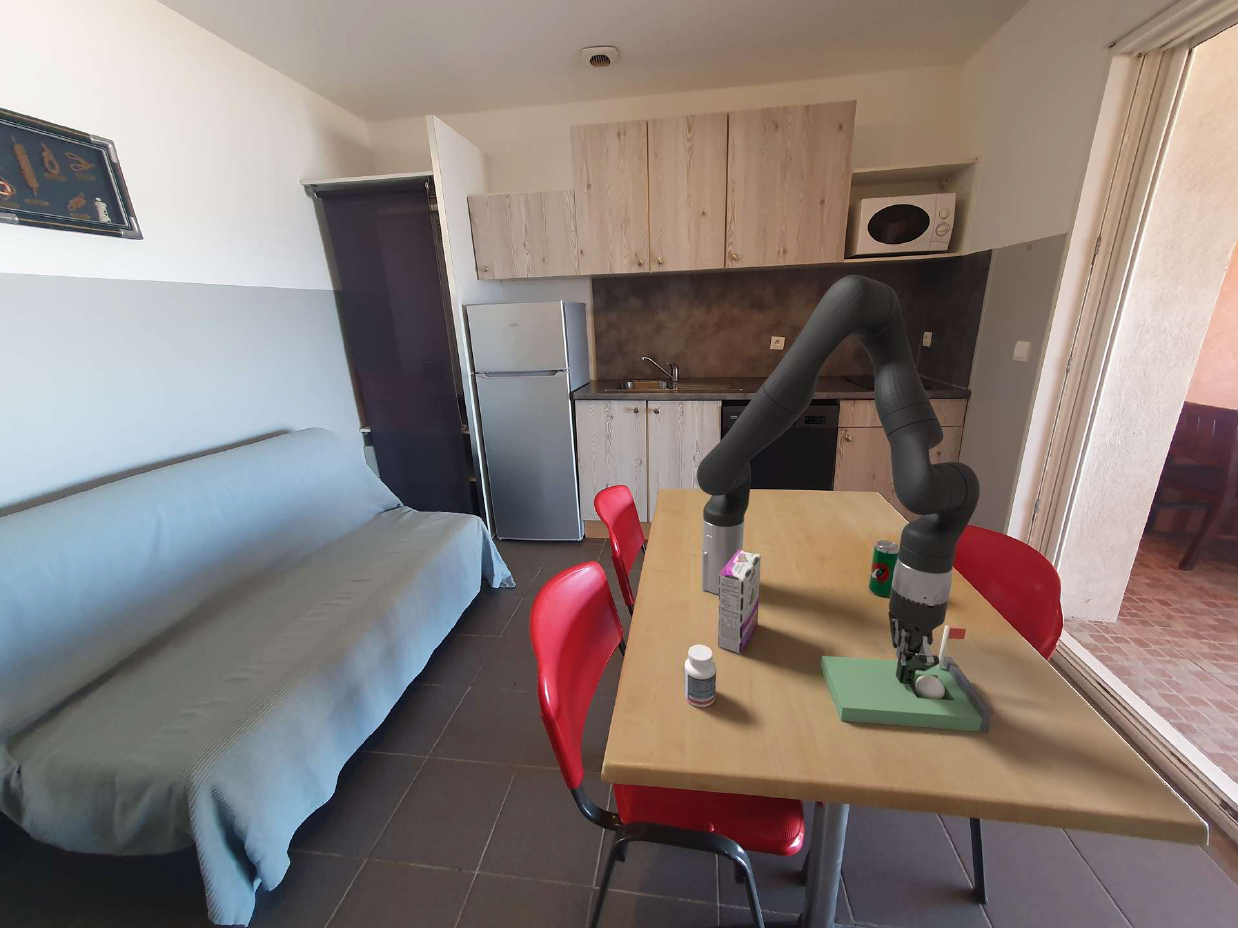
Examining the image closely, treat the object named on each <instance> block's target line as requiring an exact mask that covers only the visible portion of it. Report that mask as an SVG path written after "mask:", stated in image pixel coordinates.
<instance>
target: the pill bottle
mask: <svg viewBox="0 0 1238 928" xmlns="http://www.w3.org/2000/svg"><path fill="white" fill-rule="evenodd" d="M687 653H688V655H687V659H686V660H685V662H684V668H683V669H684V675H683V676H684V678H683V679H684V683H683V684H684V686H683V687H684V689H683V690H684V691H683V692H684V698H685V699H686V701H687V702H688V703H689V704H690V705H693V706H694V707H697V708H698V707H699V708H705V707H709V706H710V705H712V704H713V703H715V700H716V696H717V695H716V694H717V693H716V692H717V691H716V689H717V666H716V662H715V661H714V658H713V651H712V649H711V648H710V647H708V646H707V645H705V644H695V645H693V646H690V647H689V649H688V652H687Z"/></svg>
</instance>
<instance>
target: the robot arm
mask: <svg viewBox="0 0 1238 928" xmlns="http://www.w3.org/2000/svg"><path fill="white" fill-rule="evenodd" d="M902 311H903V310H902V307H901V303H900V301H899V297H898V295H897V293H896V291H895V290H894V289H893V288H892V287H891V286H889V285H888V284H886V283H884V282H881V281H878V280H875V279H873V278H871V277H867V276H864V275H859V274H848V275H845V276H844V277H841V278H840V279H838V280H837V281H836V282H835V283H833V284H832V285H831V287H830V288H828V290H827V291H826V292H825V294H824V295H823V296H822V298H821V299H820V301H819V303H818V304H817V305H816V307H815V308H814V310H813V312H812V314H811V315H810V317H809V319H808V320H807V322H806V323H805V325H804V326H803V328H802V330H801V332H800V333H799V335H798V336H797V338H796V339H795V341H794V342H793V344H792V345H791V346H790V348H789V349H788V350H787V352H786V354H785V355H784V356H783V357H782V359H781V360H780V362H779V363H778V364H777V366H776V367H775V369H774V370H773V371H772V372H771V374H769V376H768V377H767V379H766V380H764V382H763V383H762V385H761V386H760V387H759V389H758V390H757V392H756V393H755V394H754V395H753V397H752V398H751V400H750V401H749V403H748V404H747V405H746V407H745V408H744V410H743V411H742V412H741V413H740V415H739V416H738V417H737V419H736V420H735V422H734V423H733V425H732V426H731V427H730V429H729V430H728V431H727V433H726V434H725V435H724V437H723V438H722V439H721V440H720V441H719V442H718V443H717V444H716V445H715V446H714V447H713V448H712V449H711V450H710V451H708V453H707V455H705V456H704V458H703V459H701V461H700V463H699V465H698V467H697V471H696V480H697V484H698V486H699V488H700V489H701V491H703V493H705V494H707V495H710V498H709V499H708V500H707V503H705V505H704V506H703V511H702V512H703V516H702V517H703V519H702V543H701V544H702V545H701V590H702V591H708V592H710V593H713V594H716V595H719V574H720V573H721V571H722V570H723V569H724V568H725V566H726V565H727V564H728V562H729V561H730V560H731V559H732V557H733V556H734V555H735V553H736V552H737V551H738V550H744V533H745V529H744V528H745V515H746V512H747V510H748V508H749V503H750V496H751V493H750V491H751V483H752V468H751V464H750V461H751V460H752V459H753V458H754V457H755V456H756V455H757V454H758V453H760V452H761V451H763V450H764V449H765V448H767V447H768V446H769V445H770V444H772V443H773V442H774V441H776V440H777V439H778V438H780V437H781V436H782V435H783V434H784V433H786V431H788V429H790V428H791V427H792V425H794V423H795V422H796V421H797V420H798V419H799V417H800V416H801V415H802V414H803V413H804V412H805V411H806V410H807V409H808V407H809V405H810V404H811V402H812V400H813V398H814V395H815V392H816V388H817V384H818V380H819V375H820V372H821V371H822V368H823V366H824V364H825V363H826V361H827V360H828V358H829V357H830V356H831V355H832V354H833V352H834V351H835V350H836V349H837V347H838V346H840V344H841V343H842V342H843V341H844V340H845V339H846V338H848V337H850V338H855V339H858V340H859V342H860V343H861V345H862V347H863V348H864V349H865V351H866V353H867V354H868V356H869V359H870V361H871V365H872V369H873V375H874V377H873V379H874V383H873V385H874V387H873V388H874V389H873V391H874V393H873V395H874V405H875V409H876V413H877V416H878V418H879V421H880V424H881V426H882V430H883V431H884V434H885V436H886V439H887V442H888V443H889V446H890V447H889V449H890V458H891V459H890V460H891V461H890V462H891V471H892V482H893V489H894V493H895V495H896V498H897V499H898V500H899V502H900V504H901V505H902V506H903V507H904V508H905V509H906V510H908V511H909V512H910V513H912V514H915V515H918V516H919V517H917V519H915V520H912V521H911V522H908V523H907V524H906V525H905V526H904V527H903V529H902V532H901V535H900V542H899V553H898V559H897V562H896V565H895V568H894V574H893V581H892V587H891V594H890V596H889V602H888V609H889V610H888V615H887V616H888V621H889V628H890V633H891V635H890V636H891V642H892V643H891V645H892V647H893V648H894V649H896V652H895V653H896V658H897V660H898V664H897V670H896V677H897V679H898V680H899V682H900V683H901V684H913V683H914V678H915V672H916V670H917V671H927V670H929V669H930V668H932V667H934V666H936V665H938V664H939V655H934V654H933V653H932V649H931V647H930V646H931V645H933V641H934V638H933V632H934V630H935V629H936V628H938V627H940V626H941V625H943V624H944V622H945V621H946V615H947V609H948V605H949V600H950V599H949V598H950V596H951V595H950V594H951V589H952V581H953V568H954V561H955V556H956V550H957V546H958V545H957V544H958V542H959V540H960V538H961V536H962V535H963V533H964V532H965V530H966V528H967V527H968V524H969V522H970V520H971V518H972V516H973V514H974V512H975V510H976V508H977V506H978V503H979V498H980V492H981V491H980V489H981V487H980V481H979V478H978V476H977V474H976V473H975V471H974V470H973V469H972V468H971V467H970V466H969V465H967V464H965V463H963V462H959V461H958V462H957V461H947V462H939V463H932V462H931V458H930V450H931V449H933V448H935V447H938V446H939V445H940V444H941V443H942V441H943V440H944V431H943V428H942V426H941V425H942V424H941V423H940V421H939V419H938V416H937V414H936V412H935V410H934V407H933V405H932V403H931V401H930V398H929V396H928V394H927V392H926V389H925V387H924V385H923V382H922V380H921V377H920V375H919V371H918V369H917V367H916V366H917V365H916V363H915V360H914V356H913V353H912V349H911V346H910V342H909V339H908V338H909V337H908V335H907V330H906V325H905V320H904V315H903V312H902Z"/></svg>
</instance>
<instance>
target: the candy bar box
mask: <svg viewBox="0 0 1238 928" xmlns="http://www.w3.org/2000/svg"><path fill="white" fill-rule="evenodd" d="M761 556H762V555H761V554H760V553H755V552H751V551H746V550H744V549H743V550H738V551H737V552H736V553H735V555H734V556H733V557H732V559H731V560H730V561H729V562H728V564H727V565H726V566H725V568H724V569H723V570H722V571H721V573H720V574H719V594H718V631H717V632H718V640H717V641H718V642H717V644H718V645H717V646H718V648H721V649H723V650H726V651H729V652H733V653H735V654H737V655H742V654H743V652H744V650H745V648H746V646H747V644H748V643H749V640H750V638H751V637H752V635H753V633H754V631H755V629H756V628H757V626H758V622H759V621H758V620H759V603H760V601H759V598H760V577H761V558H762V557H761Z"/></svg>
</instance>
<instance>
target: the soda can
mask: <svg viewBox="0 0 1238 928" xmlns="http://www.w3.org/2000/svg"><path fill="white" fill-rule="evenodd" d="M899 547H900V545H898V543H897V542H894V541H890V540H878V541H876V544H875V545H874V546H873V553H872V554H873V555H872V560H871V568H870V575H869V583H868V588H869V590H870V592H871V593H873V594H874V595H876V596H878V597H879V596H880V597H886V598H887V597H890V594H891V587H892V581H893V574H894V568H895V565H896V562H897V559H898V553H899Z"/></svg>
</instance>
